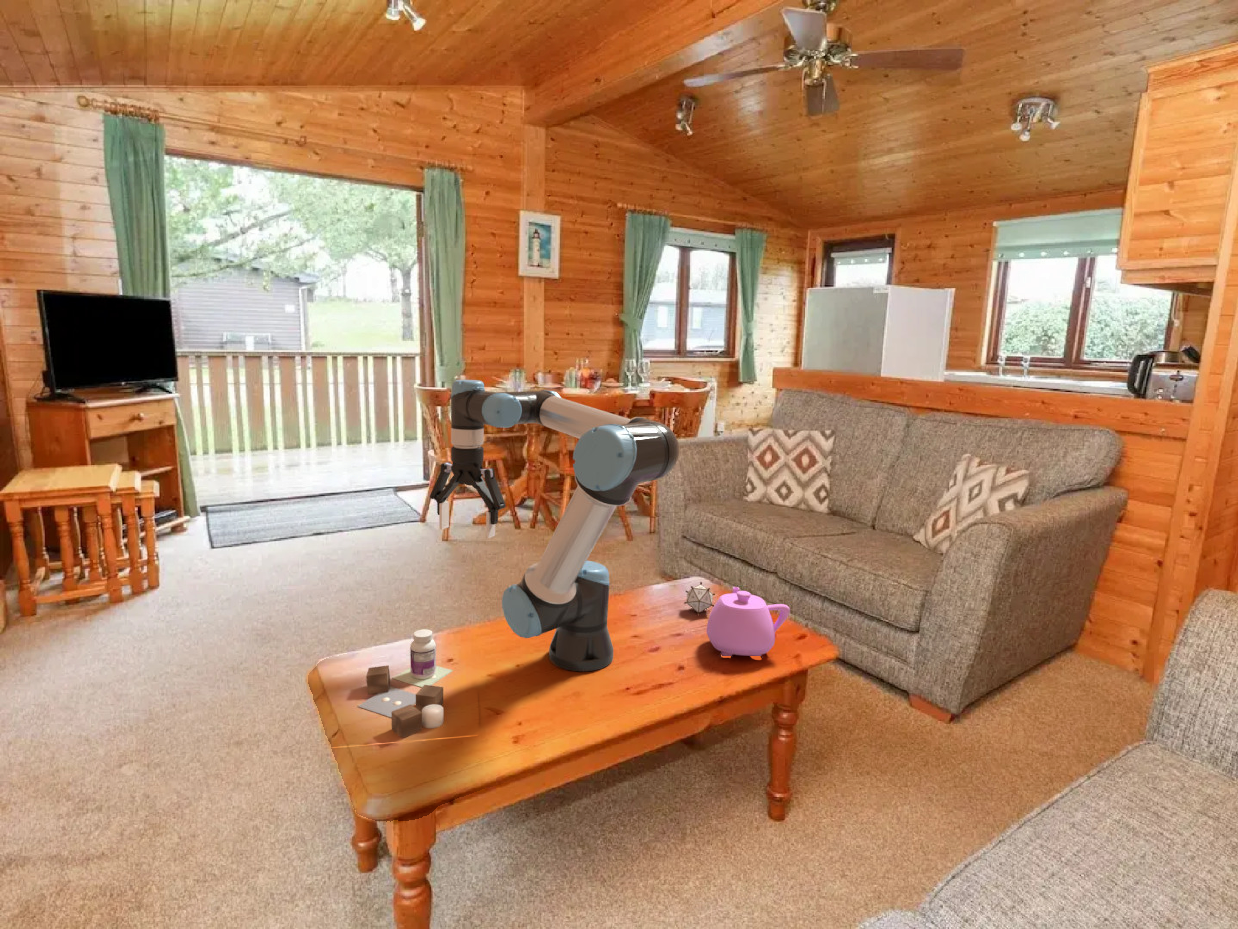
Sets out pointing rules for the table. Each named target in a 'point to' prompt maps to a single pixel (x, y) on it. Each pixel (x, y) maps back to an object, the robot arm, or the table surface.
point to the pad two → (389, 701)
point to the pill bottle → (423, 654)
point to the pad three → (408, 678)
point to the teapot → (743, 624)
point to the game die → (699, 598)
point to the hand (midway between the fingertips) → (467, 532)
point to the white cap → (432, 716)
